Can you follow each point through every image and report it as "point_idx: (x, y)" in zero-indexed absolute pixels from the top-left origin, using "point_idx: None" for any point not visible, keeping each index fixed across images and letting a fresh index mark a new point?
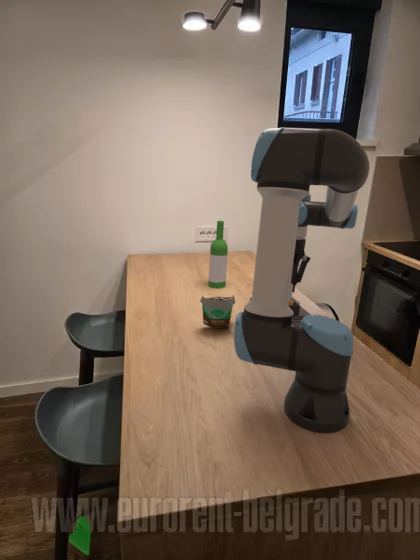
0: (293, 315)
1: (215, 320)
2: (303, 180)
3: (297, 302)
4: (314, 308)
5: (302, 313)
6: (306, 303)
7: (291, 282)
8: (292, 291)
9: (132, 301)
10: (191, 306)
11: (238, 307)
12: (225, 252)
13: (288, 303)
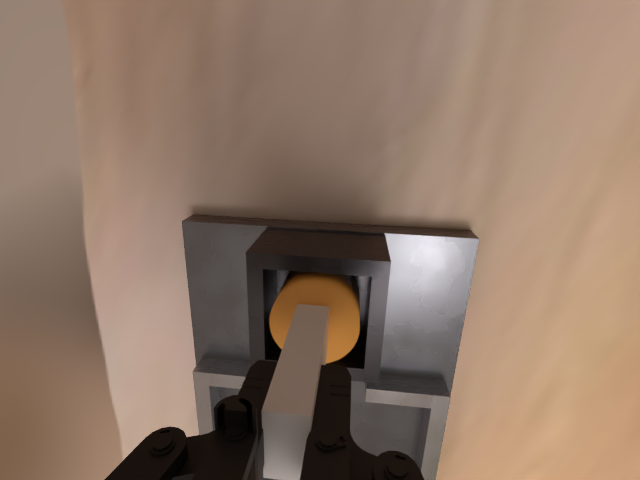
0: (302, 231)
1: None
2: None
3: (205, 377)
4: (118, 347)
5: (228, 257)
6: (137, 410)
7: (260, 461)
8: (272, 366)
9: None
10: None
11: (537, 429)
12: None
13: (328, 286)
